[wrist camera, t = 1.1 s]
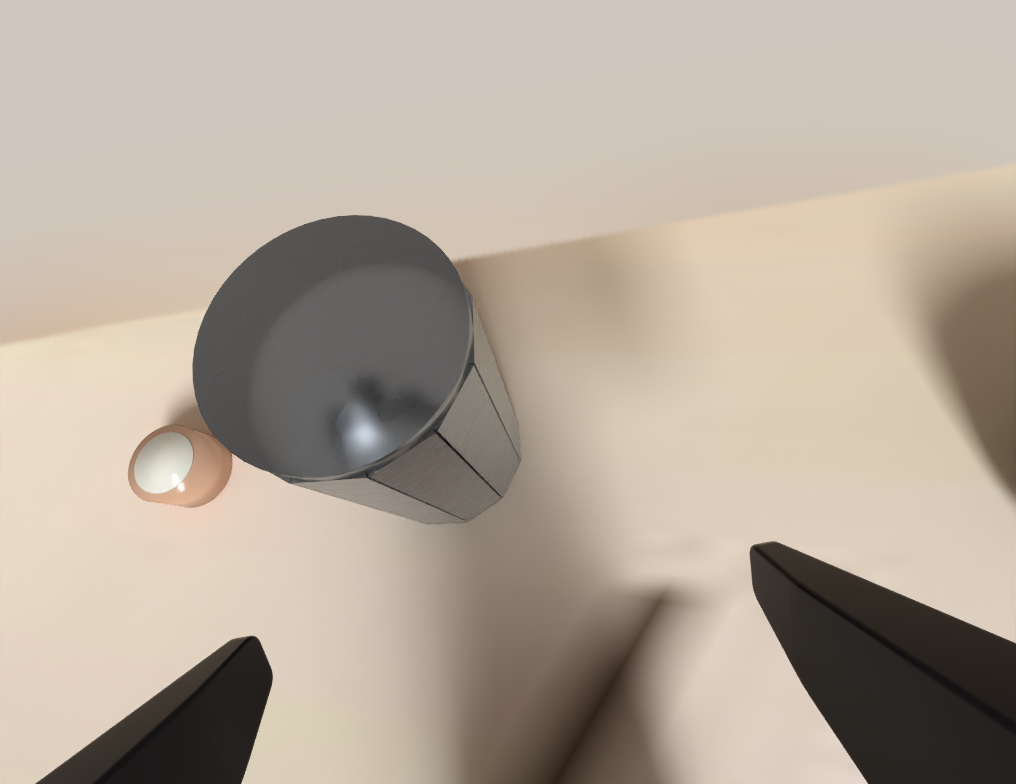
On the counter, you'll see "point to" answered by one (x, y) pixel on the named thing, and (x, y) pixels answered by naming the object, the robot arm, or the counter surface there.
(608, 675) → the counter surface
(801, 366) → the counter surface
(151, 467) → the terracotta bowl
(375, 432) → the steel cup
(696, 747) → the counter surface
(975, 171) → the counter surface
